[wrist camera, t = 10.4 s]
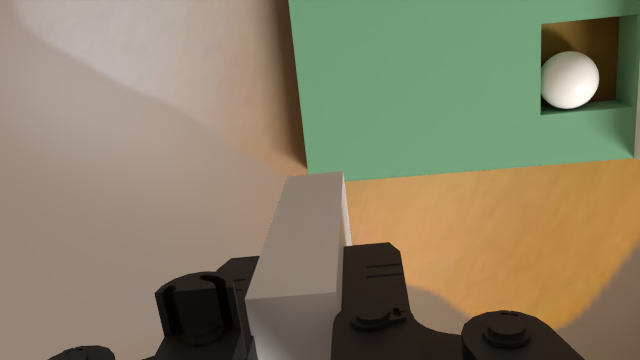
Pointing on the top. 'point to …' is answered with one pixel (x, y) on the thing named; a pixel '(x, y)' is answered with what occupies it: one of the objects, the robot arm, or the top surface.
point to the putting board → (451, 87)
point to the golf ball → (569, 79)
